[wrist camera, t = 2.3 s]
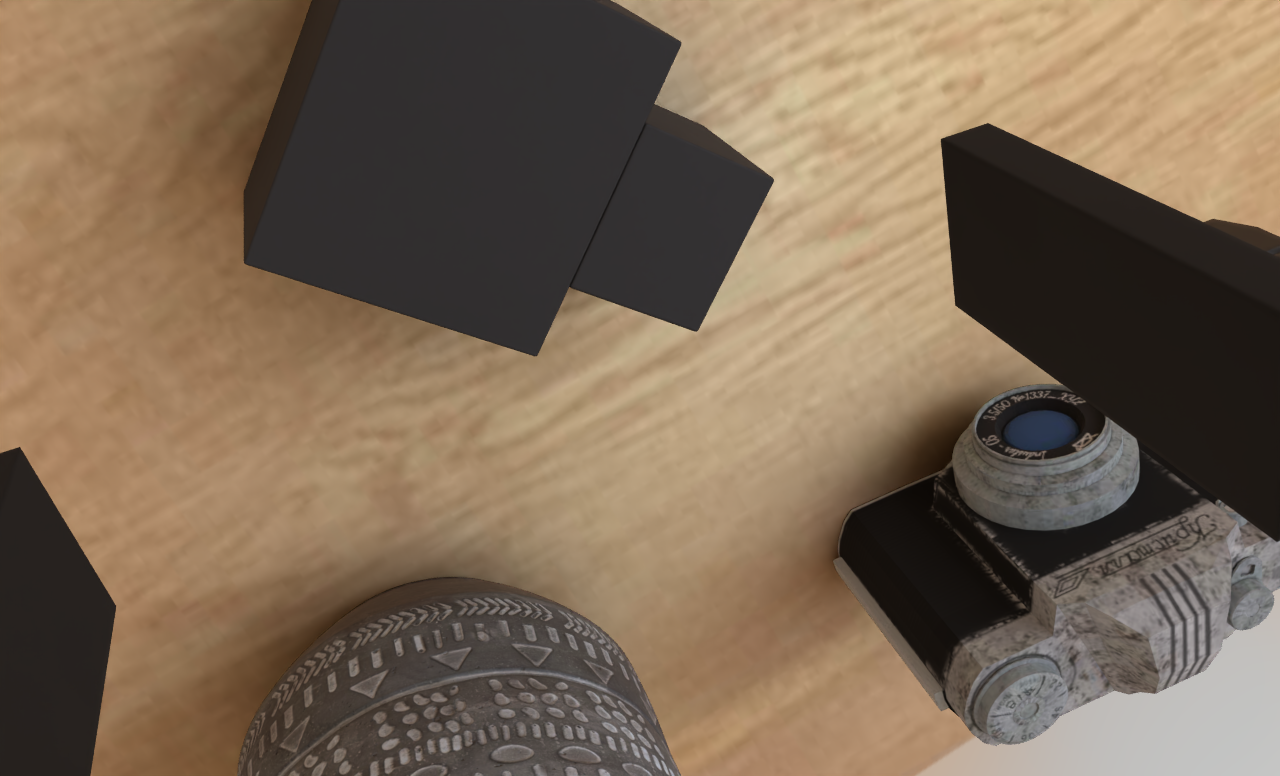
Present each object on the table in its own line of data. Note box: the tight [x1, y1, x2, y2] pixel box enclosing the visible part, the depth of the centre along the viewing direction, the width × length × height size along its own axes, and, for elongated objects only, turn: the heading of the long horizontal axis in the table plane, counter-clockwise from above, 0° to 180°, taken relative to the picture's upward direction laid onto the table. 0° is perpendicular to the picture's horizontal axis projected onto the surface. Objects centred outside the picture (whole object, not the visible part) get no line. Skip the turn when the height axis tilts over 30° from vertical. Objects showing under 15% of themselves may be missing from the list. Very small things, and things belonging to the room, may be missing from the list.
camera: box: [833, 384, 1280, 746], centre depth 36 cm, size 15×7×10 cm, turn 106°
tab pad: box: [244, 0, 774, 356], centre depth 28 cm, size 8×11×5 cm
